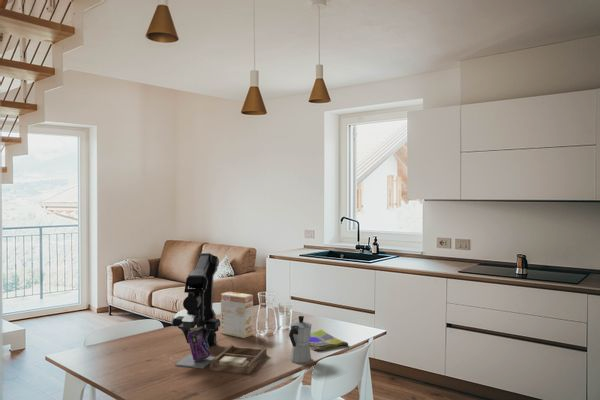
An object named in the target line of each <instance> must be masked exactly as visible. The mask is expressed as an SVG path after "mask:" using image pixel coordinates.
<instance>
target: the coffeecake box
mask: <svg viewBox="0 0 600 400" xmlns="http://www.w3.org/2000/svg"><path fill="white" fill-rule="evenodd" d="M253 327H254V294H249V293H242V292H234V291H226V292H222V293H220V334H223V335H227V336H231V337H237V338H242V339H246V338H248V337H252V336H253V335H254V333H253V332H254V328H253Z"/></svg>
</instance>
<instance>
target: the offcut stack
mask: <svg viewBox="0 0 600 400" xmlns="http://www.w3.org/2000/svg"><path fill="white" fill-rule="evenodd" d="M246 359H247V358H242V357H230V356H224V357H223V358H222V359H221V360H219V364H228V365H238V366H246V365H247V364H248V363H249V361H246Z"/></svg>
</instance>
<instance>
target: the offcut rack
mask: <svg viewBox="0 0 600 400" xmlns="http://www.w3.org/2000/svg"><path fill="white" fill-rule="evenodd" d="M267 352H268V351H267V347H263V348H258V347H256V348H255V347H247V346H246V347H245V346H234V344H230V345H229V346H228V347H226V348H225V349H224V350H223V351H221V353H219V354H218V355H216V356H215V357H216V358H214V359H213V360H212V361H211V362H210V363H209V371H215V372H224V373H233V374H243V375H250V373H252V372H253V370H255V369H256V367H257V366H258V365H259V364H260V363H261V362H262V361H263V360H264V359H265V357H266V356H267ZM224 356H230V357H242V358H247V359H246V361H249V363H248V364H247V365H246V366H238V365H228V364H219V360H221V359H222V358H223V357H224Z"/></svg>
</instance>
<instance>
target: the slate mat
mask: <svg viewBox="0 0 600 400" xmlns="http://www.w3.org/2000/svg"><path fill="white" fill-rule="evenodd" d="M216 357H217V356H211V355H210V356H209V357H208V358H206V359H204V360H201V361H196V360H193V356H192V353H191V354H190V353H189V354H187V355H185V357H183V358H181V359H180V360H179V361H177V362H176V363H174V366H175V367H185V368H194V369H195V368H196V369H204V368H206V367H208V365H210V362H211V361H212V360H213V359H214V358H216Z"/></svg>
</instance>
